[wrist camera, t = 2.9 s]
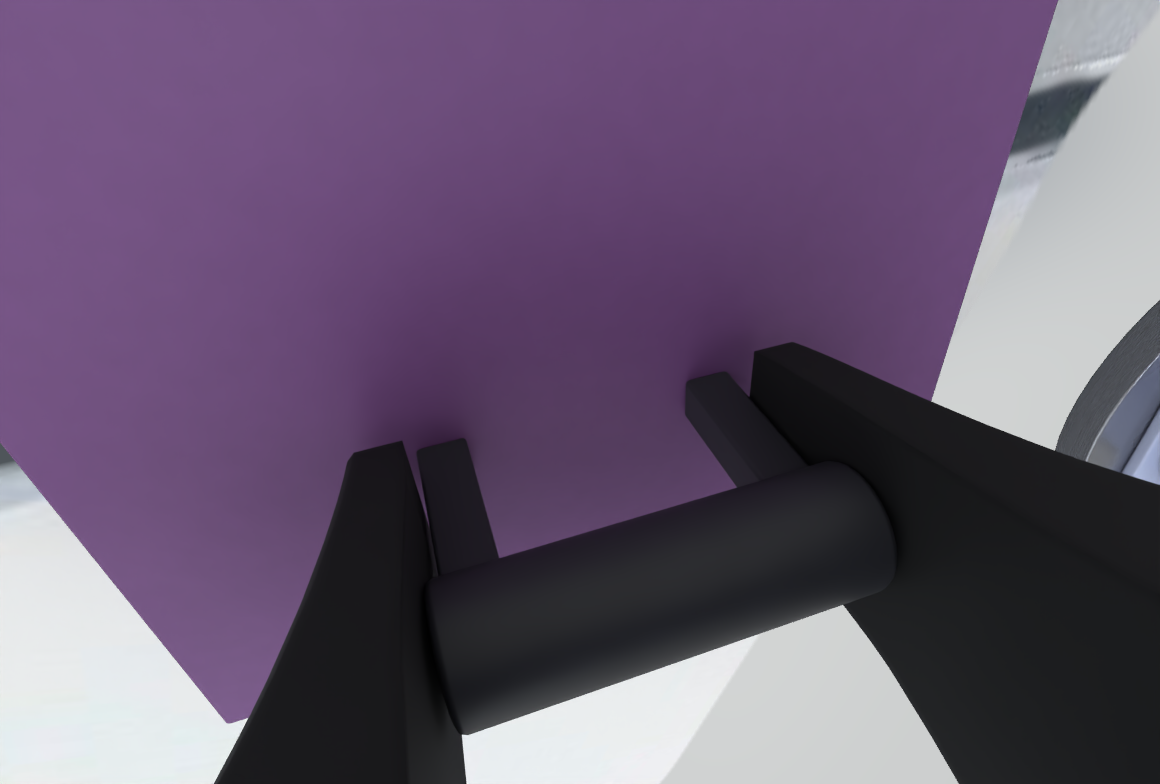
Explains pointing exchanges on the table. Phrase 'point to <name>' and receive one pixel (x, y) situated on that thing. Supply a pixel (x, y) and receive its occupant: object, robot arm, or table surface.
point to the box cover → (483, 302)
